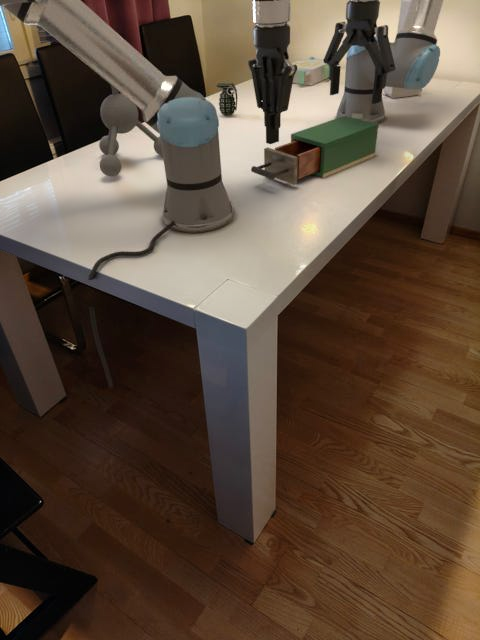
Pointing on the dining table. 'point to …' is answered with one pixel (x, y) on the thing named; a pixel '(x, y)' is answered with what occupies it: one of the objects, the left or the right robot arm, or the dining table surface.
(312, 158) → the drawer
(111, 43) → the left robot arm
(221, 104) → the grenade
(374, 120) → the right robot arm
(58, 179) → the dining table surface
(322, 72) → the decorative block
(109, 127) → the molecular model
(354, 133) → the cabinet
